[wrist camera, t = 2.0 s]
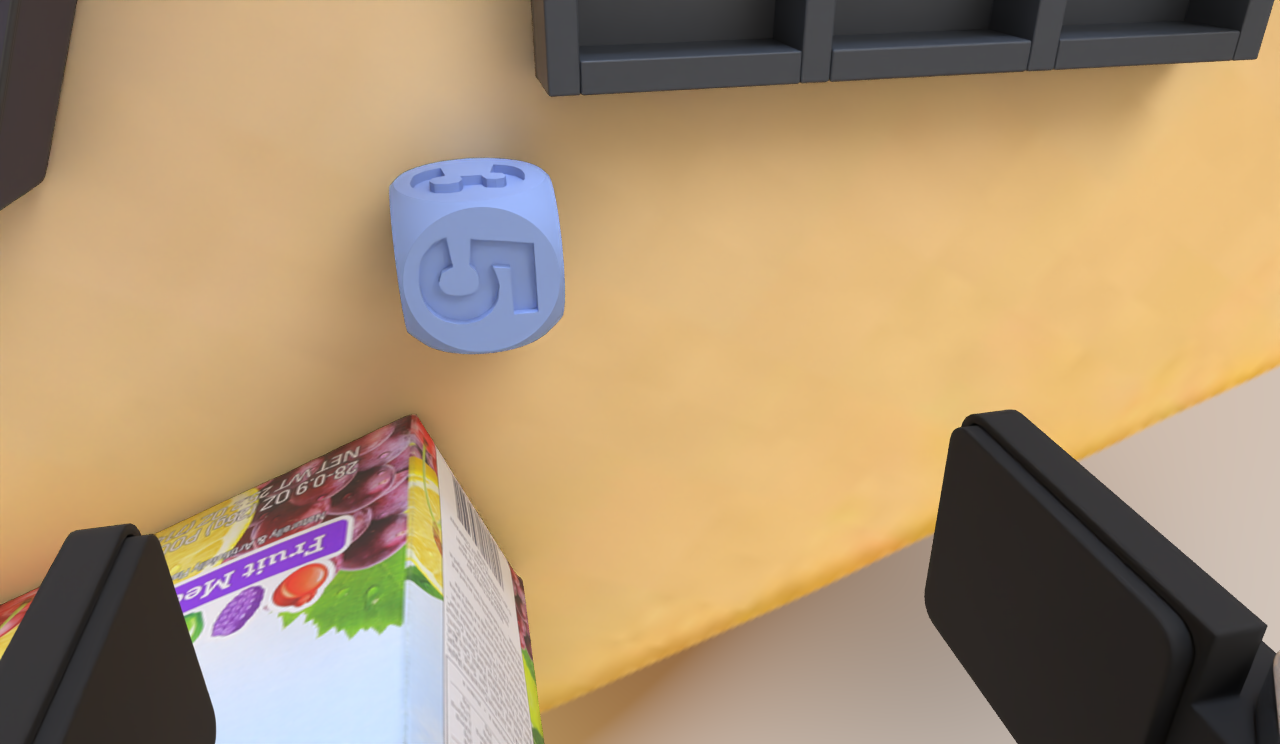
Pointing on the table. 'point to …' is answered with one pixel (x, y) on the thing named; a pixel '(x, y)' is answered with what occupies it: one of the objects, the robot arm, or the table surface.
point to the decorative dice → (477, 254)
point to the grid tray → (870, 39)
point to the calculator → (30, 88)
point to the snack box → (353, 605)
